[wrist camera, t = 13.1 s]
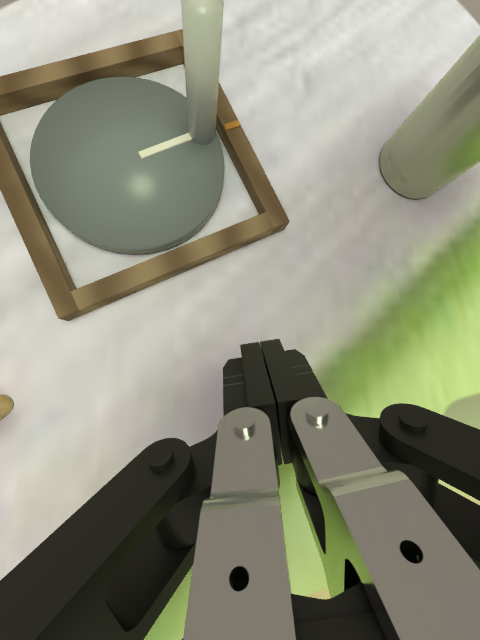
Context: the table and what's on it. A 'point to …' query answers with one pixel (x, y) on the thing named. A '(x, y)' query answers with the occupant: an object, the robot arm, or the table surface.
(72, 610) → the robot arm
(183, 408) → the table surface
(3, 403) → the grandmother figurine
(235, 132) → the dial frame
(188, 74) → the dial
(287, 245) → the table surface
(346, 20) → the table surface
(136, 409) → the table surface
